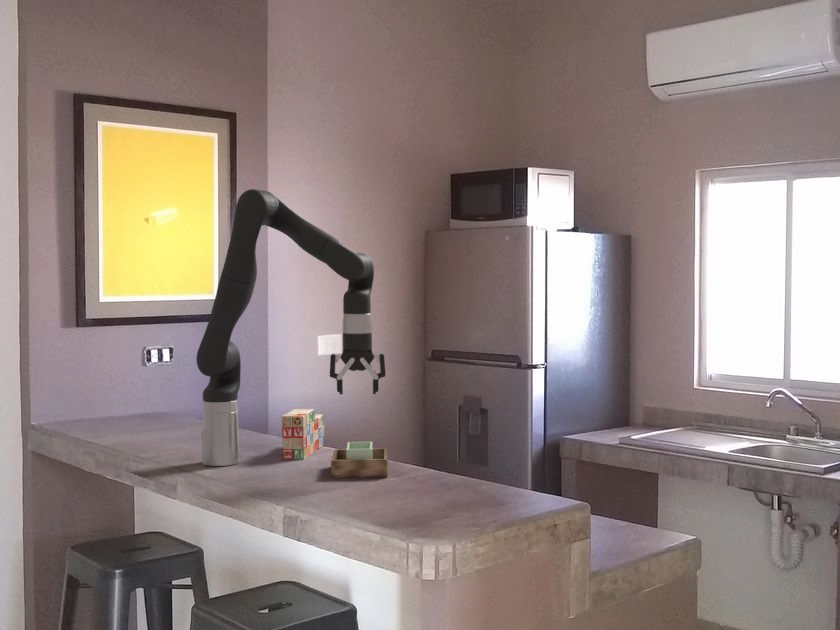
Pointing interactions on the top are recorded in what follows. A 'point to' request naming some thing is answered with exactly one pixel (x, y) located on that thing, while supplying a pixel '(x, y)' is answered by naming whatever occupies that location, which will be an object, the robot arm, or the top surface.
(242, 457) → the top surface
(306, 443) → the stack of blocks
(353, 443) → the small crate
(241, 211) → the robot arm
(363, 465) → the big crate
